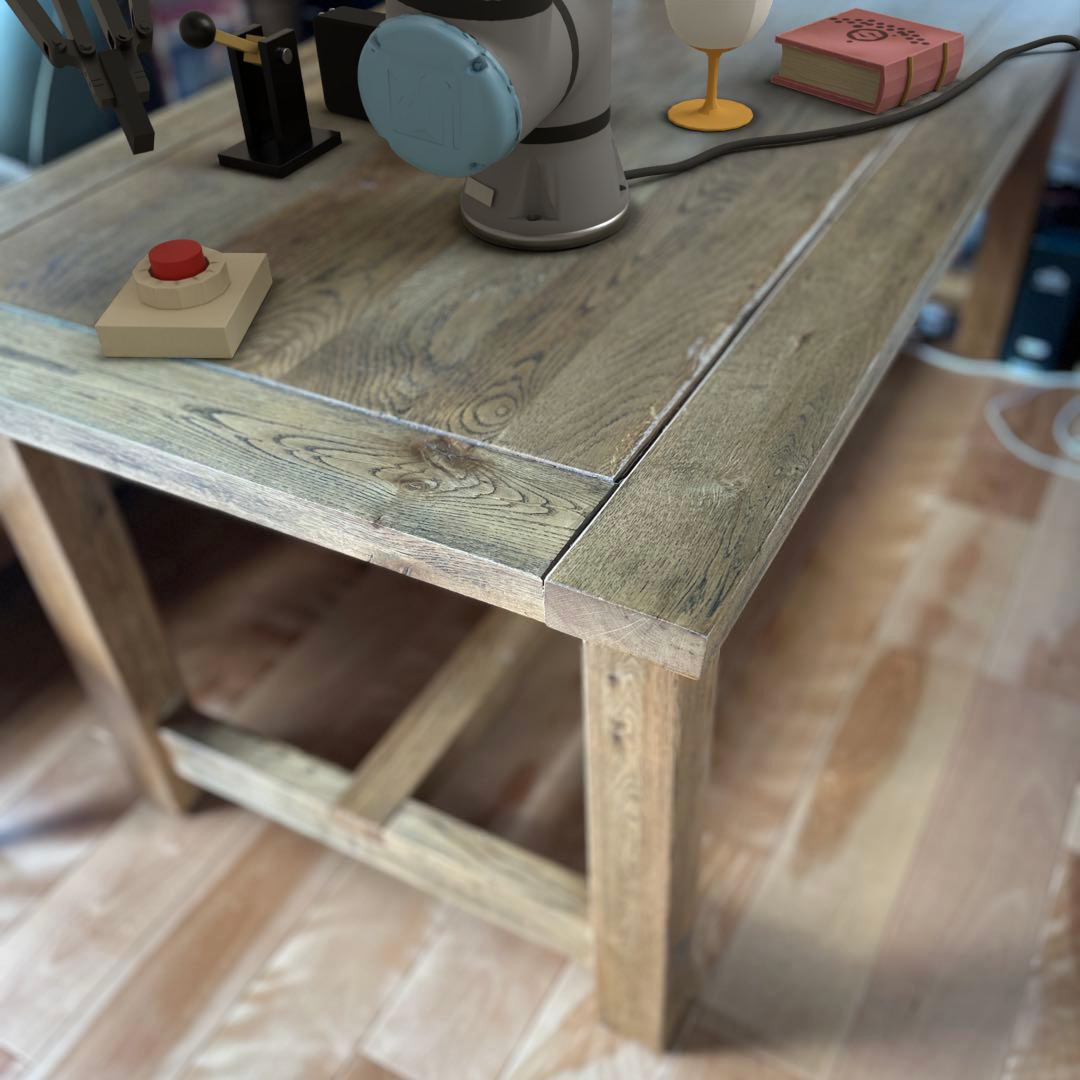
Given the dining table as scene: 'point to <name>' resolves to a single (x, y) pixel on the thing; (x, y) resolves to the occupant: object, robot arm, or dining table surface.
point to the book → (868, 59)
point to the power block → (186, 309)
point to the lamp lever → (216, 36)
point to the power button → (177, 260)
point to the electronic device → (343, 55)
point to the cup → (714, 54)
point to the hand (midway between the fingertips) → (144, 143)
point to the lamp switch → (273, 110)
